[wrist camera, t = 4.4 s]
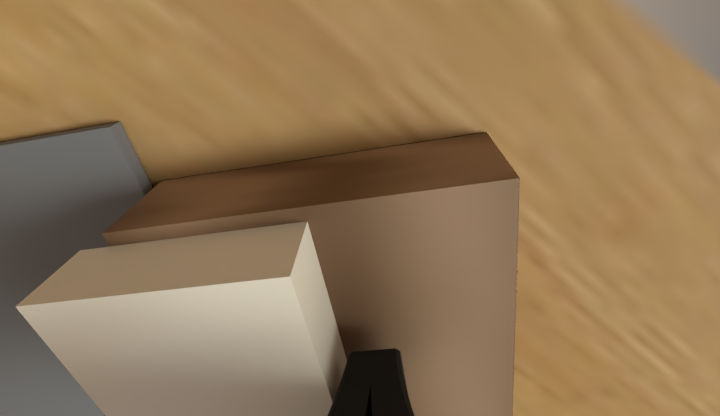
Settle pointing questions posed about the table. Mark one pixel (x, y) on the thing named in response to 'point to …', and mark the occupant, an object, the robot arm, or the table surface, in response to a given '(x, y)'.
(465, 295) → the riser
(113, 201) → the mat
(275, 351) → the cream rectangular block
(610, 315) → the table surface
